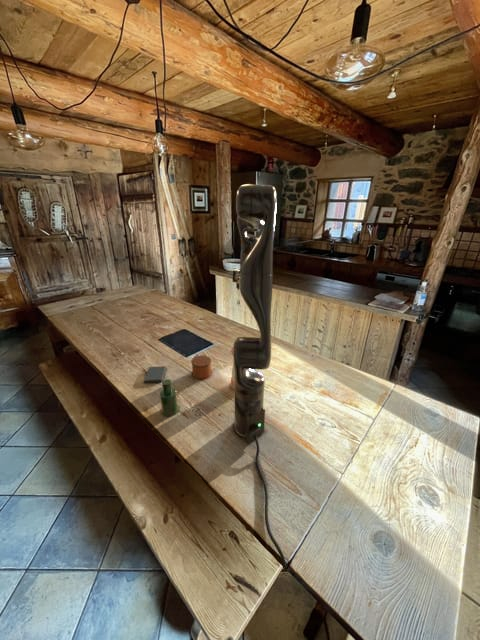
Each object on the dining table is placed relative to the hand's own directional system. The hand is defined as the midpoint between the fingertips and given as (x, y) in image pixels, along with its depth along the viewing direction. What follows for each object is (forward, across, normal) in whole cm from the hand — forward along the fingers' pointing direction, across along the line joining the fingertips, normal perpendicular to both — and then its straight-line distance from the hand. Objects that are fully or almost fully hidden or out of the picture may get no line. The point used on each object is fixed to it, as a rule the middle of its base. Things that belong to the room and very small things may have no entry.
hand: (247, 289), depth 126 cm
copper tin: (+21, -16, -35) cm, 44 cm away
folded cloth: (+21, -36, -39) cm, 57 cm away
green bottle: (+14, -22, -58) cm, 63 cm away
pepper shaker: (+19, +1, -41) cm, 45 cm away
